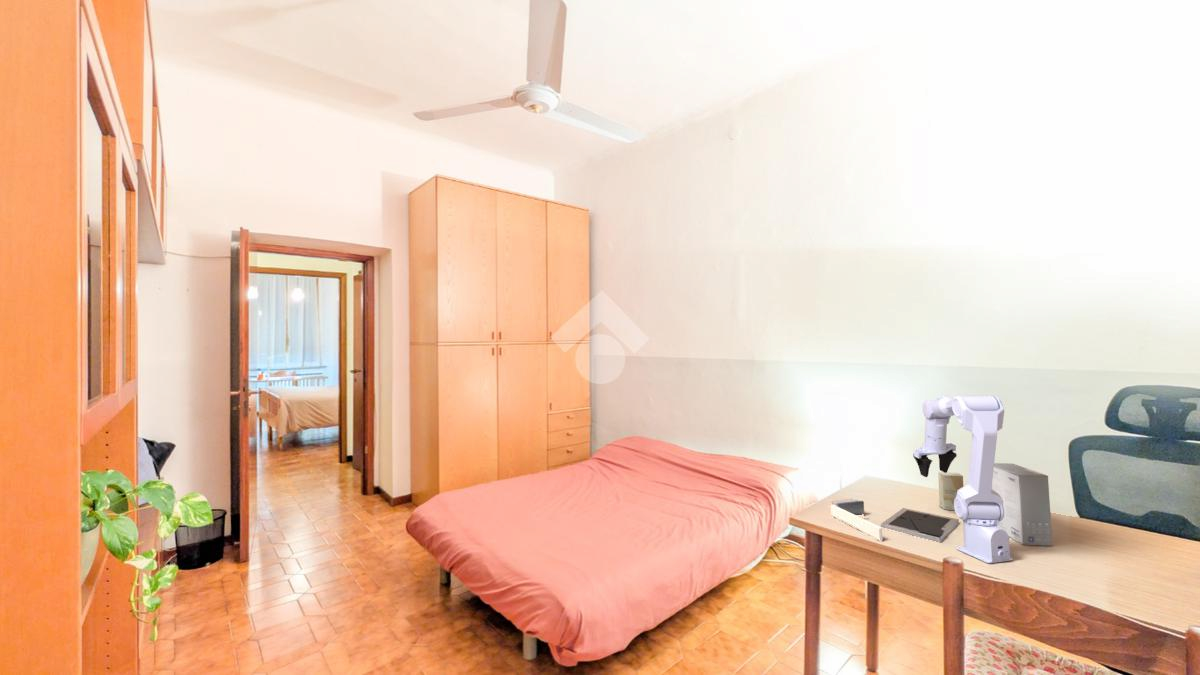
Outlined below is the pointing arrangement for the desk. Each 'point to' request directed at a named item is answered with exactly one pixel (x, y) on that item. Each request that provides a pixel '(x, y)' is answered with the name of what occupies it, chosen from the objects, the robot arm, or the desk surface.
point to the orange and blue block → (843, 501)
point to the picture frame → (921, 524)
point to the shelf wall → (857, 522)
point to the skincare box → (949, 489)
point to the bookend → (853, 507)
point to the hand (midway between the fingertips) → (933, 473)
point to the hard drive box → (1024, 503)
